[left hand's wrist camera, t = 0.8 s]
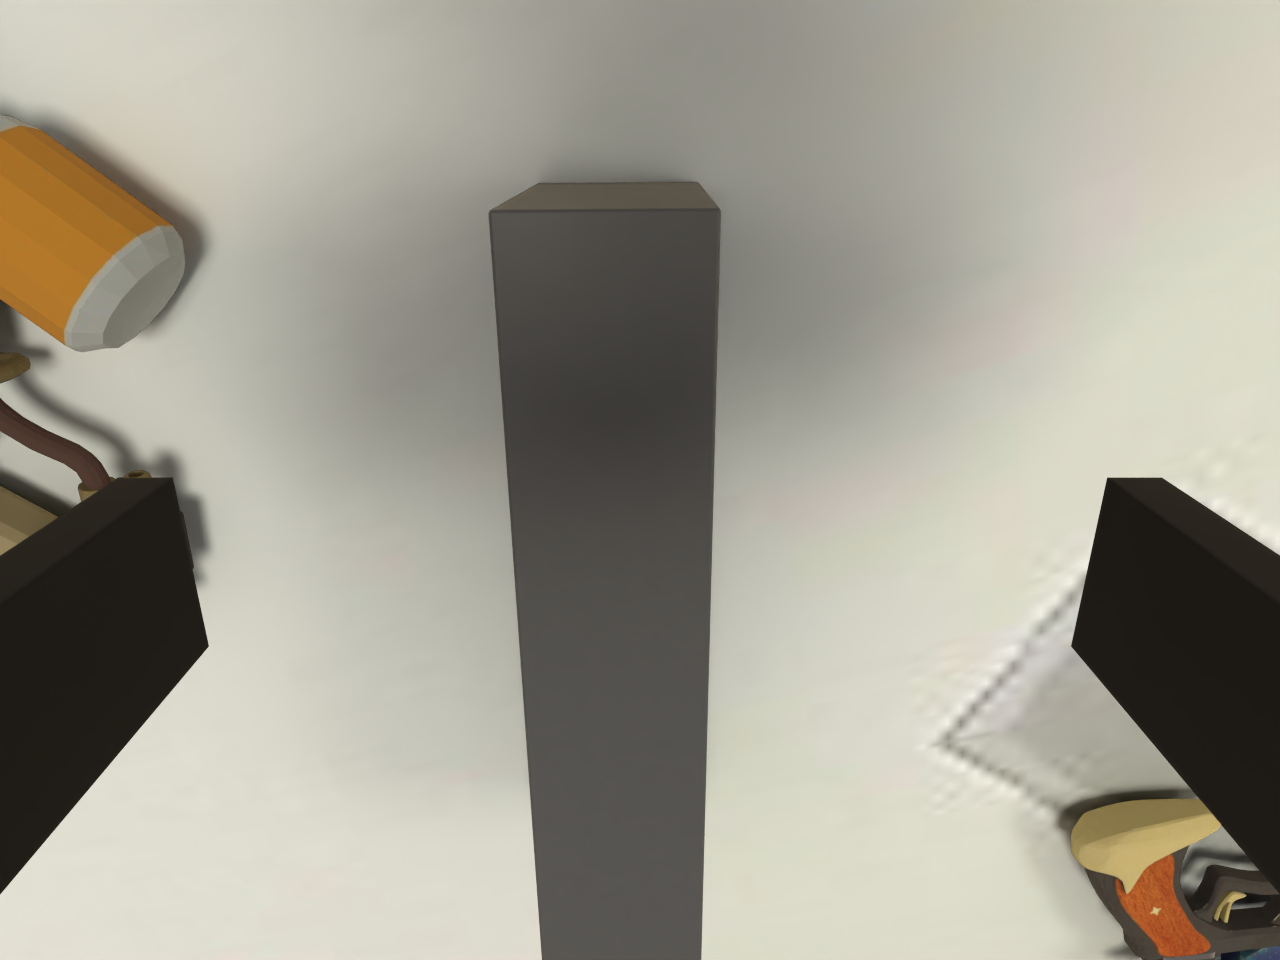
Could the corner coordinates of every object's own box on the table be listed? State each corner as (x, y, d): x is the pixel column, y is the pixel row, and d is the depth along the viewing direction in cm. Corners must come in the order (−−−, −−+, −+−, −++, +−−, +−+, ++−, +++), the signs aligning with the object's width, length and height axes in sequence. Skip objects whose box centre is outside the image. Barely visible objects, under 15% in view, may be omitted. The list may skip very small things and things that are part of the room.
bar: (536, 183, 25) (487, 209, 17) (699, 181, 24) (721, 208, 17) (566, 787, 33) (542, 980, 25) (688, 787, 33) (700, 981, 25)
